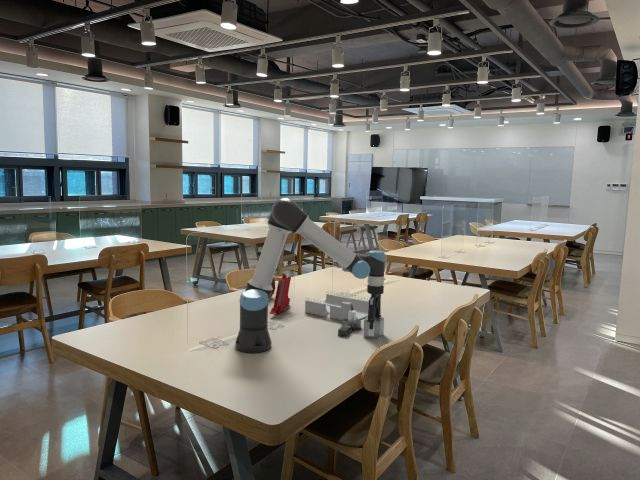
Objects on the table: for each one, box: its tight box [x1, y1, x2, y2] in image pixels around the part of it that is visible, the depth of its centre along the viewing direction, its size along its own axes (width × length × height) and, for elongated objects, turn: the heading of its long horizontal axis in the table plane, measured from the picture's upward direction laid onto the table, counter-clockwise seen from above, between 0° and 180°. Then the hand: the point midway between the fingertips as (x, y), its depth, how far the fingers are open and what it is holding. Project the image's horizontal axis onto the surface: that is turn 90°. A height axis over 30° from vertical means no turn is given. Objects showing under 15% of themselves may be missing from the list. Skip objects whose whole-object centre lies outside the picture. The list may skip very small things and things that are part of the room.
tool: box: [269, 272, 292, 315], centre depth 258 cm, size 24×5×25 cm, turn 168°
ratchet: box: [337, 310, 362, 338], centre depth 226 cm, size 20×9×8 cm, turn 159°
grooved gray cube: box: [362, 316, 385, 339], centre depth 219 cm, size 8×8×8 cm
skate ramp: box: [304, 290, 370, 322], centre depth 253 cm, size 30×27×11 cm
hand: (373, 333), depth 219 cm, fingers closed on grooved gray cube, 8 cm apart
